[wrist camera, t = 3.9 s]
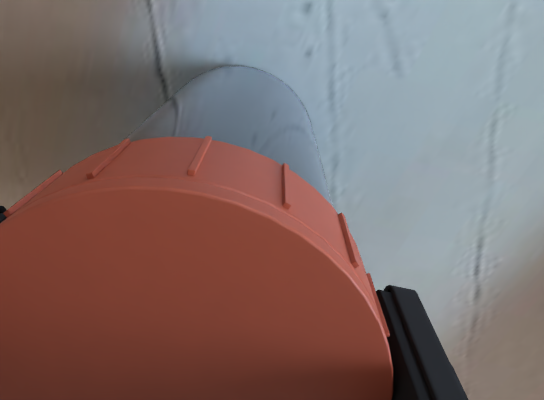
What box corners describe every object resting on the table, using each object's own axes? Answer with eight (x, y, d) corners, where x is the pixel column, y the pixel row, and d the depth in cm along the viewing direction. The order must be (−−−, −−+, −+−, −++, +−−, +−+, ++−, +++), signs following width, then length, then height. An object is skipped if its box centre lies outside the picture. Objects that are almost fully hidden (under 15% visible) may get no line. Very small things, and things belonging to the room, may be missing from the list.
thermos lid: (-51, 310, 10) (-152, 403, 8) (158, 44, 8) (106, 63, 5) (212, 474, 12) (197, 588, 10) (441, 299, 10) (492, 392, 7)
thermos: (133, 146, 21) (-103, 381, 8) (230, 30, 19) (125, 92, 6) (244, 237, 23) (198, 550, 10) (344, 139, 21) (454, 370, 8)
